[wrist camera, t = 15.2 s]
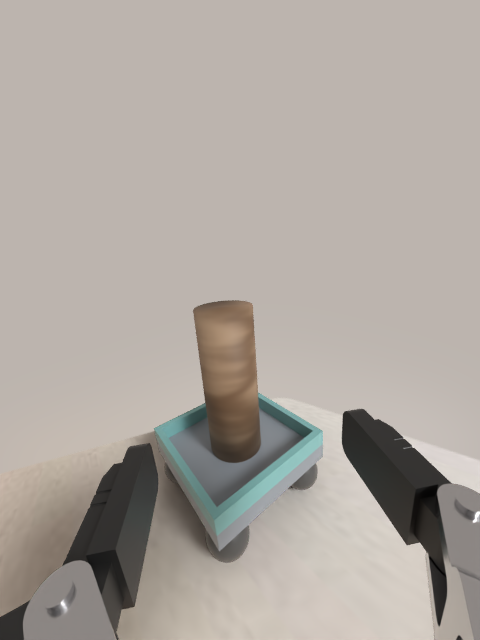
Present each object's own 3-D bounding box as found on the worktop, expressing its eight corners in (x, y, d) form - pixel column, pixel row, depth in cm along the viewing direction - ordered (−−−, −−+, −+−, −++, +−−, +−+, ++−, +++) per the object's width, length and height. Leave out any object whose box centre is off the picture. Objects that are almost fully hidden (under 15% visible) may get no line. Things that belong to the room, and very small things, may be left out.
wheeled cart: (224, 586, 18) (213, 523, 16) (163, 475, 28) (152, 428, 26) (324, 483, 25) (324, 431, 23) (248, 423, 34) (243, 383, 33)
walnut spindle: (229, 472, 21) (212, 319, 17) (202, 440, 25) (183, 308, 21) (271, 443, 24) (264, 305, 20) (240, 418, 28) (230, 298, 24)
